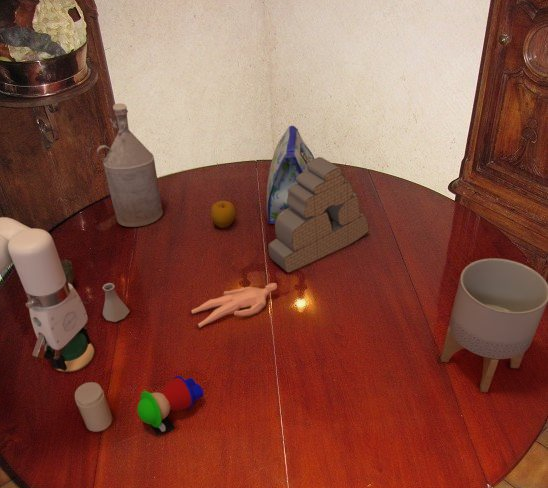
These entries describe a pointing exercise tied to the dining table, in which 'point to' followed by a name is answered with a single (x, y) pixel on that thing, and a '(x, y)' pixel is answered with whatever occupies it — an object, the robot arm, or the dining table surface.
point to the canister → (131, 176)
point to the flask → (113, 305)
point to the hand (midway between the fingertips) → (72, 354)
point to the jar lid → (74, 347)
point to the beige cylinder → (93, 406)
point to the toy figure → (168, 403)
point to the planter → (495, 313)
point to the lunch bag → (285, 171)
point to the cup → (68, 270)
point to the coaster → (80, 360)
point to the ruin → (317, 217)
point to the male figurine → (236, 303)
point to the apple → (223, 213)
